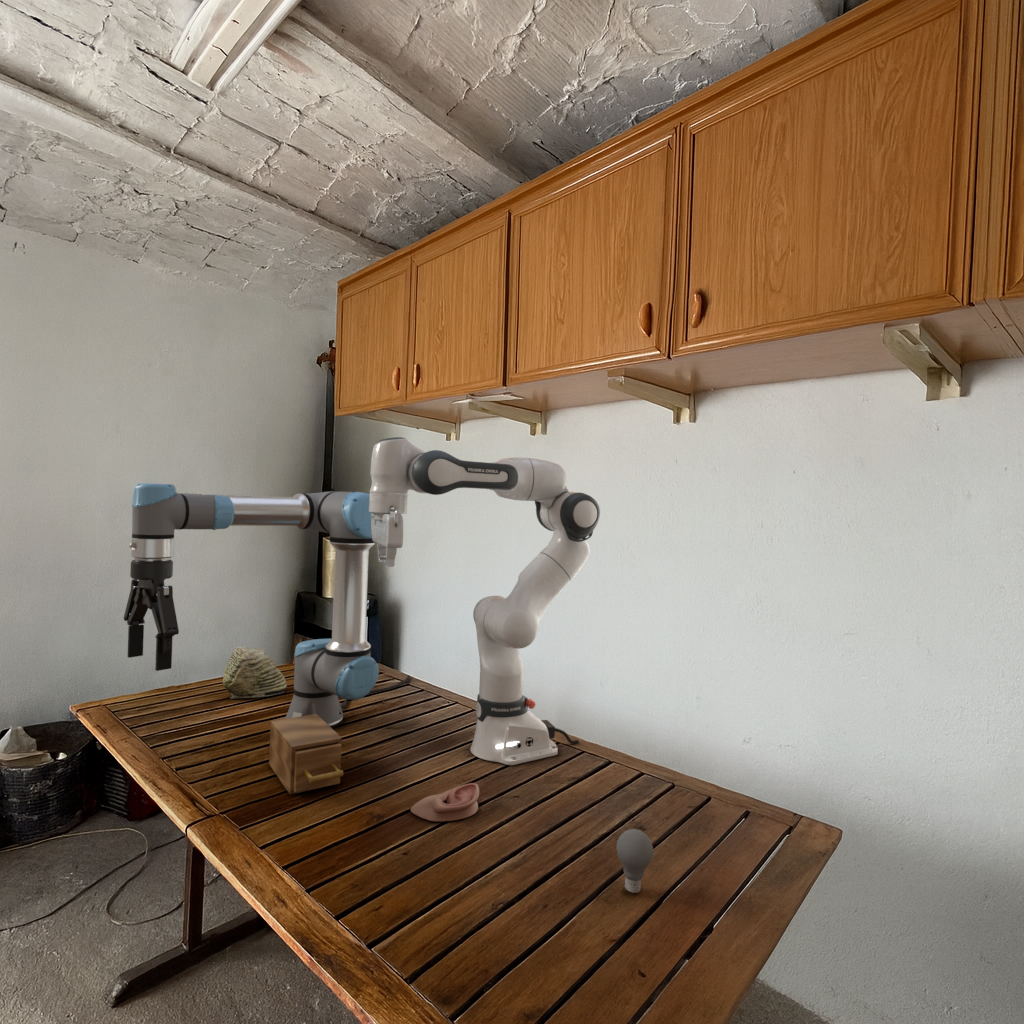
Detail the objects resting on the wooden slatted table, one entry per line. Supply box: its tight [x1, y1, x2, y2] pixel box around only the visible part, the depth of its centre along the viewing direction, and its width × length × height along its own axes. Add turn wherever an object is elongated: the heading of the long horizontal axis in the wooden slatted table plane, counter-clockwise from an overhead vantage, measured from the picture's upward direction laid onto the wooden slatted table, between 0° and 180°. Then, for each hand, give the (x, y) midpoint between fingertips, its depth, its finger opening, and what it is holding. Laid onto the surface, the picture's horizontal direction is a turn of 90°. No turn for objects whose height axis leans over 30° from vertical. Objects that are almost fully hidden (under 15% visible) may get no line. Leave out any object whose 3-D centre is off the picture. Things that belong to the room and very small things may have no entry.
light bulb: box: [615, 828, 654, 894], centre depth 106 cm, size 6×6×10 cm
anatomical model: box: [410, 782, 480, 822], centre depth 131 cm, size 13×4×12 cm
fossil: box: [222, 646, 288, 699], centre depth 198 cm, size 9×18×15 cm, turn 132°
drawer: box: [294, 743, 344, 794], centre depth 140 cm, size 22×10×8 cm, turn 35°
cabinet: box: [268, 714, 343, 796], centre depth 144 cm, size 18×11×10 cm, turn 35°
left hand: (148, 662), depth 129 cm, fingers open, 13 cm apart
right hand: (385, 564), depth 150 cm, fingers open, 8 cm apart
